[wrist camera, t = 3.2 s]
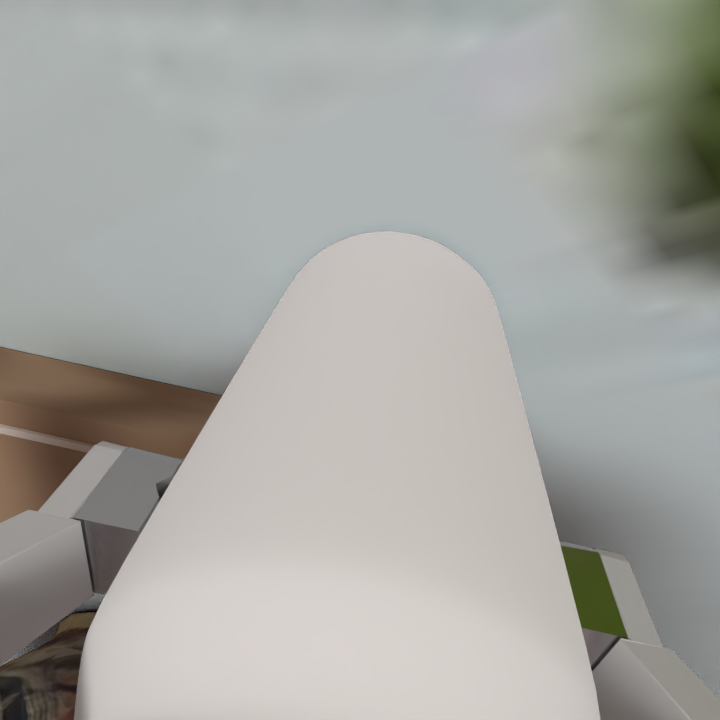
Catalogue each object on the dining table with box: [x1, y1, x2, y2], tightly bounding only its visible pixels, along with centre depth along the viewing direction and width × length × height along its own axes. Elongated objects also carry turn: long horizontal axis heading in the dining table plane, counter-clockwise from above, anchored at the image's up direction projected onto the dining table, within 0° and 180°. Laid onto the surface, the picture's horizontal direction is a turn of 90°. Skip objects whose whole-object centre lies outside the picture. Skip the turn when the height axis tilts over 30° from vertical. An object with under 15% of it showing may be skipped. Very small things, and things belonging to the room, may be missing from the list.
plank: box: [0, 347, 222, 523], centre depth 18 cm, size 20×8×2 cm, turn 79°
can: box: [74, 231, 601, 720], centre depth 10 cm, size 6×6×12 cm
